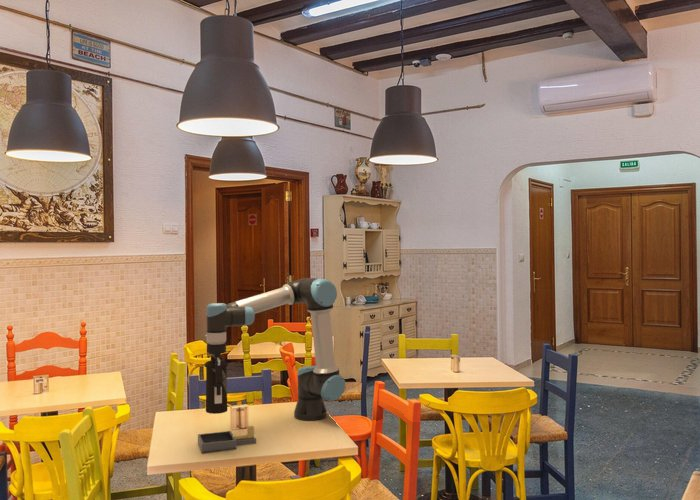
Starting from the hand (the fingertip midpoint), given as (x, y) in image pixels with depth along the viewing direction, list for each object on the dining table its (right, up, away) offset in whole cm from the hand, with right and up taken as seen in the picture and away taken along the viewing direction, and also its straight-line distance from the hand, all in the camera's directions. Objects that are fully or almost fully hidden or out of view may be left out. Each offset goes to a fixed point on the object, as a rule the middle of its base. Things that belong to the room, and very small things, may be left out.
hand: (216, 400), depth 242 cm
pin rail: (+10, -18, +4) cm, 21 cm away
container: (0, -4, 0) cm, 4 cm away
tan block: (+10, -17, +4) cm, 20 cm away
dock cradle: (0, -18, 0) cm, 18 cm away
